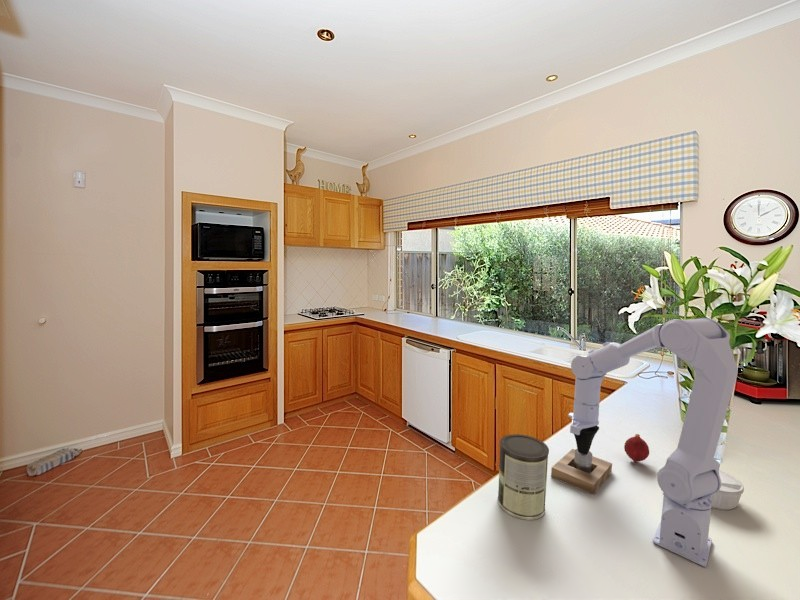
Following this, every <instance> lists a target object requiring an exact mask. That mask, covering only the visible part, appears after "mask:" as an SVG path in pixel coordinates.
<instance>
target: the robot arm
mask: <svg viewBox="0 0 800 600" xmlns="http://www.w3.org/2000/svg"><path fill="white" fill-rule="evenodd" d="M730 339H731V334H730V333H729V332H728V331H727V330H726V329H725V328H724V327H723V325H722V324H720V323H719V322H718V321H716V320H714V319H712V318H708V317H700V318H692V319H691V318H689V319H678V318H677V319H670V320H668V321H666V322H664V323H659V324H656V325H654V326H653V327H651V328H649V329H647V330H646V331H643V332H642V333H640V334H638V335H636V336H634V337H633V338H630V339H629V340H627V341H625V342H623V343H619V342H615V341H614V342H611V341H606V342H604V343H602V347H600V348H598V349H596V350H594V349H593V350H589V351H587V352H588V354H586V355H580V354H579V355H576V356H575V357H574V358H573V359H572V360H571V363H570V368H571V372H572V374H573V375H574V376H575V381H574V382H575V384H574V395H573V396H574V397H573V398H574V399H573V410H572V411H573V412H569V413H568V416H567V417H568V418H571V424H570V426H569V427H570V430H569V432H570V434H573V436H574V438H575V443H576V449H578V452H580V453H583V454H585V455H587V454H588V452H589V451H590V449H591V446H592V443H593V440H594V438H595V437H596V434H597V433H598V432H599V430H600V427H599V426H598V425H599V424H600V420H599V417H600V401H601V385H602V383H603V379H604V377H605V376H607V374H608V373H610V372H612V371H615V370H617V369H619V368H622V367H623V368H624V366H627V365H628V364H629V362H630V359H631V358H632V357H634V356H637V355H639V354H643V353H646V352H648V351H652V350H653V349H657V348H661V349H663V348H666V349H667V350H668V351H670V353H672V354H673V355H674V356H676V357H678V358H679V359H681V360H682V361H684V362H685V363H686V364H688V365H689V366H690V368H691V369H692V370H693V371H694V372H695V376H694V381H693V385H692V388H691V393H690V395H689V396H690V397H689V399H688V403H687V408H686V411H685V415H684V420H683V425H682V428H681V431H680V437H679V440H678V443H677V447H676V449H674V451H672V452H671V454H670V455H669V456H668V457H667V458H666V462H665V465H664V466H663V467H661V468H660V469H659V470H658V472H657V474H656V479H657V483H658V486H659V488H660V490H661V491H662V495H663V497H662V500H663V501H662V509H661V518H660V523H659V525H658V527H657V530H656V532H655V534H654V535H653V539H652V543H654V544H655V545H657V546H659V547H662V548H663V549H666V550H668V551H670V552H672V553H674V554H676V555H679V556H680V557H683V558H685V559H687V560H689V561H691V562H693V563H695V564H697V565H700V566H702V567H704V568H705V567H707V566H708V561H709V556H710V552H711V548H712V543H713V541H712V540H713V539H712V538H710V537H709V535H710V534H709V532H710V526H711V525H710V524H711V513H712V507H711V506H712V494H713V493H716V492H718V491H719V490H720V488H721V479H720V476H719V470H720V467H721V463H720V462H719V461H718V460H716V458H715V455H716V451H717V447H718V444H719V440H720V437H721V435H722V429H723V426H724V423H725V419H726V415H727V412H728V408H729V405H730V402H731V401H730V400H731V397H732V394H733V391H734V386H735V382H736V380H737V376H738V369H739V368H738V365H737V363H736V359H735V357H734V353H733V352H732V347H731V345H730Z"/></svg>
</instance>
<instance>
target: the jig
mask: <svg viewBox="0 0 800 600" xmlns="http://www.w3.org/2000/svg"><path fill="white" fill-rule="evenodd" d="M575 450H576V449H574V448H572V449H570V450H569V451H568V452H567V453H566V454H565V455H564V456H563V457H562V458H560V459H559V460H558V461H557V462H556V463H555V464H553V465H552V467H551V473H550V477H552V478H554V479H556V480H557V481H558V480H559V481H561V482H563V483H565V484H568V485H569V486H571V487H573V488H577V489H579V490H580V491H583V492H586V493H588V494H590V495H592V496H593V495H595V494H596V492H597V491H598V490H599V489H600V487H601V486H602V485H603V484H604V482H605V481H606V480H607V479H608V477H609V476H610V475H611V473H612V468H613V463H612V462H611V461H607V460H604V459H601V458H598V457H597V456H593V455H592V466H591V474H589V473H586V472H584V471H581V470H579V469H576V468H574V458H575Z"/></svg>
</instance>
